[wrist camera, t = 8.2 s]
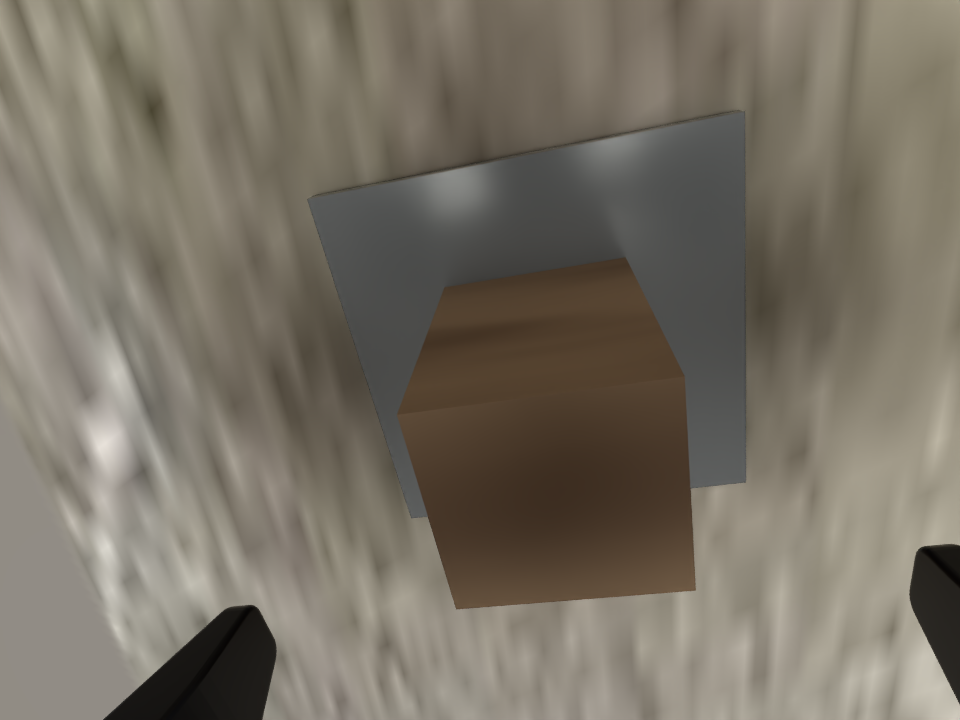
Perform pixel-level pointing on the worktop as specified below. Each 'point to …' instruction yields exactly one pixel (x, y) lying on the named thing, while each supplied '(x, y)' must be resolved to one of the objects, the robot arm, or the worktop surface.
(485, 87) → the worktop surface
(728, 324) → the slate coaster
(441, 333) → the walnut block
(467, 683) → the worktop surface
